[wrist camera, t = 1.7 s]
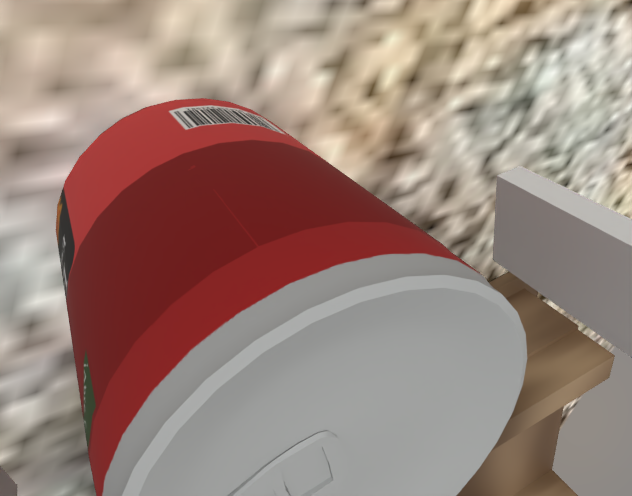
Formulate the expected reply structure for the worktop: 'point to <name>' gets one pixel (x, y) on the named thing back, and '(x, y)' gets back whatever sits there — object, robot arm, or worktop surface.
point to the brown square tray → (539, 398)
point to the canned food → (270, 321)
